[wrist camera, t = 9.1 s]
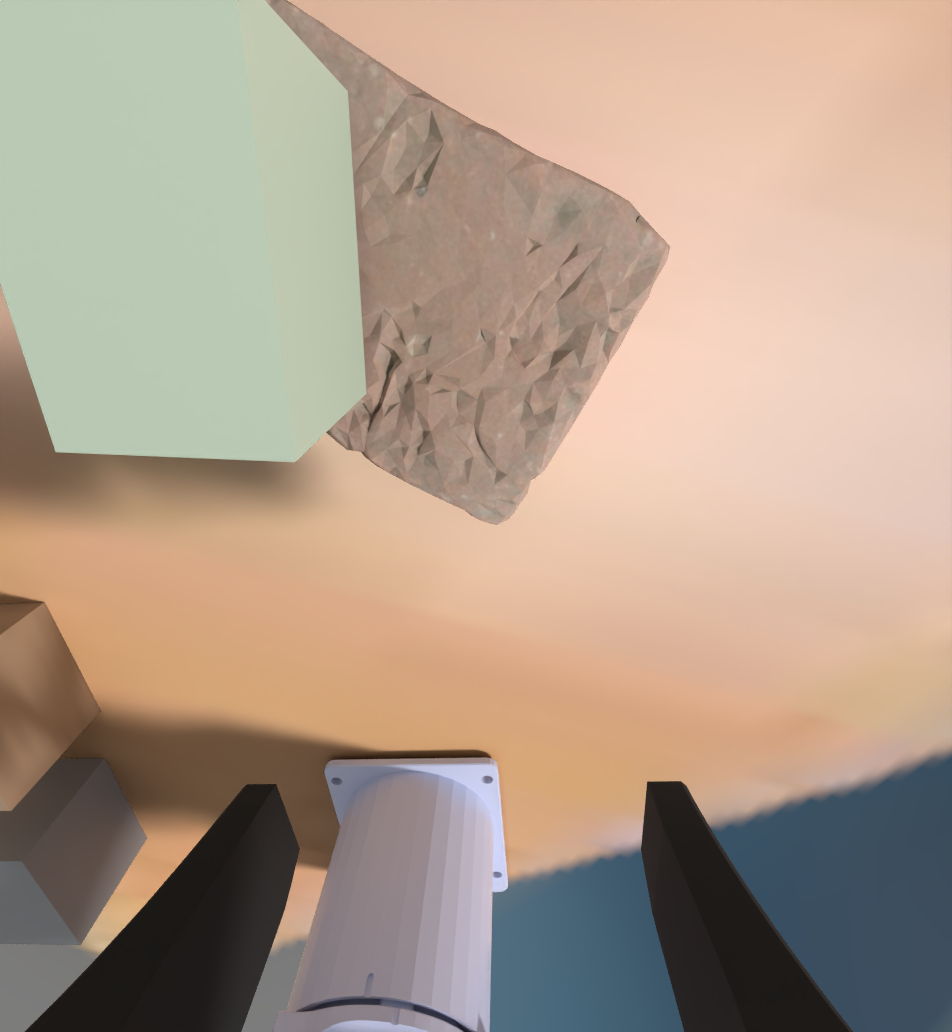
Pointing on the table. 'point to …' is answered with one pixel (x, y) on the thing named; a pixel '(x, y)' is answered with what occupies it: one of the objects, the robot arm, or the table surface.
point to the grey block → (64, 853)
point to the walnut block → (36, 698)
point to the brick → (474, 288)
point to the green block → (178, 227)
